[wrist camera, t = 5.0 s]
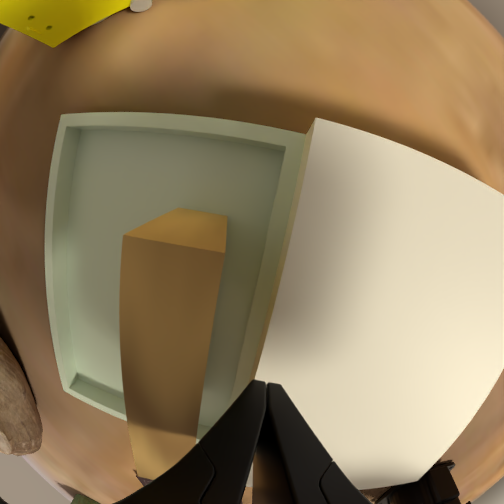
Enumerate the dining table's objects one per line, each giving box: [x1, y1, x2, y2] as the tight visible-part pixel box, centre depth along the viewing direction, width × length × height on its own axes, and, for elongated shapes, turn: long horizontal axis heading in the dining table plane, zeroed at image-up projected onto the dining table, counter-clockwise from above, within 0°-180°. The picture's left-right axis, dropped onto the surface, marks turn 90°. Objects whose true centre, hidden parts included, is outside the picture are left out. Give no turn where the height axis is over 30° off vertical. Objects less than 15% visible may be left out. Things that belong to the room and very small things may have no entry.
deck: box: [246, 118, 504, 490], centre depth 10 cm, size 16×12×4 cm
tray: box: [45, 112, 306, 444], centre depth 12 cm, size 16×11×2 cm
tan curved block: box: [119, 207, 227, 480], centre depth 9 cm, size 9×6×2 cm
